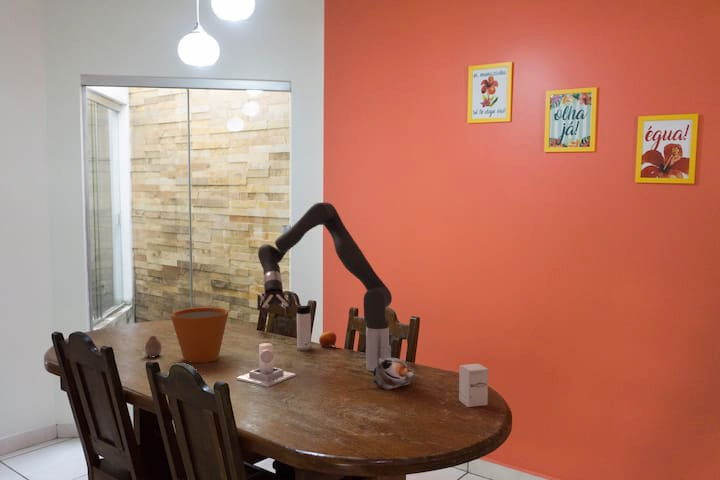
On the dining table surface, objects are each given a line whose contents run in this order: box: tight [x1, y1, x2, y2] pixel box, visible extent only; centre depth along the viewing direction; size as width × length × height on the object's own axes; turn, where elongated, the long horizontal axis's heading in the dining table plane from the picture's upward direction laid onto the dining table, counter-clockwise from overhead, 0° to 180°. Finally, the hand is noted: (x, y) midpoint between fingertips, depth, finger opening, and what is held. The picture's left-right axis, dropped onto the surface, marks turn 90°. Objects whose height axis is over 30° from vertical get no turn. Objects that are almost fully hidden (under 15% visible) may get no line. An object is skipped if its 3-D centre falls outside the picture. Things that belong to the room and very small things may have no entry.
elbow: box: [258, 342, 274, 374], centre depth 232 cm, size 9×5×12 cm, turn 12°
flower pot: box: [170, 306, 229, 363], centre depth 261 cm, size 24×24×20 cm
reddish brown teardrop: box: [144, 335, 163, 358], centre depth 265 cm, size 7×7×9 cm
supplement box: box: [458, 363, 489, 408], centre depth 206 cm, size 7×7×13 cm
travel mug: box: [296, 305, 312, 352], centre depth 276 cm, size 6×7×20 cm
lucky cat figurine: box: [373, 357, 415, 391], centre depth 223 cm, size 15×12×14 cm
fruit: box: [318, 330, 337, 348], centre depth 281 cm, size 8×8×8 cm
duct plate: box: [236, 366, 297, 388], centre depth 234 cm, size 16×16×3 cm
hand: (276, 316), depth 243 cm, fingers open, 8 cm apart
